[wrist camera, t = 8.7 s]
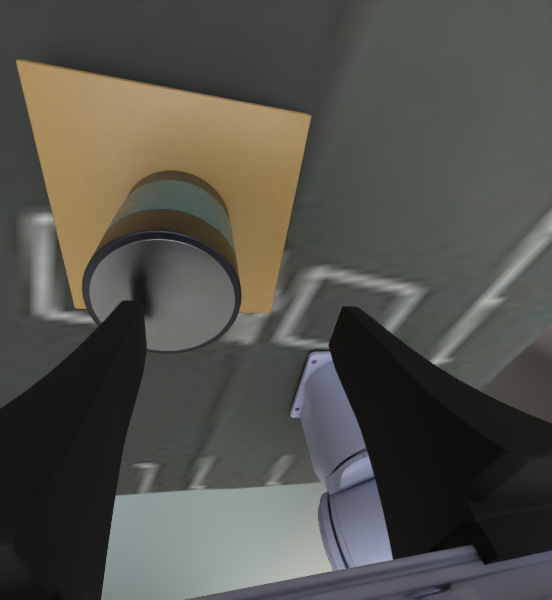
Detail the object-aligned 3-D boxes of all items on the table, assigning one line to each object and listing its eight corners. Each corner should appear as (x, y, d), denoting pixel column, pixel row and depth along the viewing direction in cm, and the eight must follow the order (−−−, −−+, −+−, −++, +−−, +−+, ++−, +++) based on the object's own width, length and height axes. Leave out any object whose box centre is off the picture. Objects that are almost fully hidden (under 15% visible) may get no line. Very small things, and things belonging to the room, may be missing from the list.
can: (225, 269, 19) (234, 355, 13) (128, 264, 18) (93, 356, 12) (234, 177, 16) (251, 238, 10) (117, 162, 15) (63, 223, 9)
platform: (265, 292, 24) (270, 313, 22) (86, 285, 21) (74, 308, 19) (299, 109, 17) (311, 115, 15) (41, 59, 14) (14, 58, 12)
